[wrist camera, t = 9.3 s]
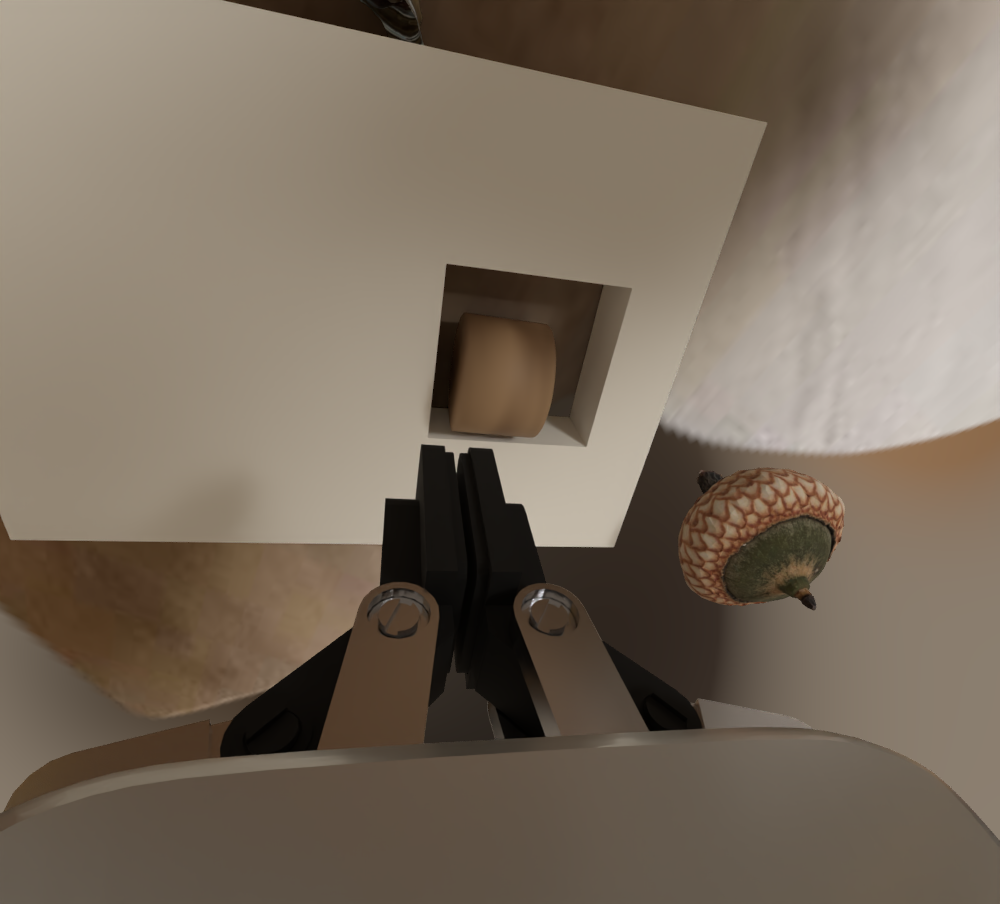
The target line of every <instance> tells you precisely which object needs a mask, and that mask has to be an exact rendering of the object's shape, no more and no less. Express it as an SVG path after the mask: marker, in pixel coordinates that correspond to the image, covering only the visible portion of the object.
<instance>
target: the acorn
mask: <svg viewBox="0 0 1000 904" xmlns="http://www.w3.org/2000/svg"><path fill="white" fill-rule="evenodd" d="M698 473H700V474H699V475H700V476H699V477H698V478H697V481H698V484H699V485H700V488H701V490H702V492H703V495H702V496H700V497H699V498H698V499H697V500H696V502H695V503H694V506H693V507H692V508H690V510H689V512H688V514H687V515H686V517H685V519H684V520H683V522H682V525H681V530H680V533H679V537H678V547H679V558H680V564H681V567H682V570H683V573H684V577H685V581H686V583H687V585H688V586H689V587H690V589H691V590H693V591H694V592H696V593H697V594H698V595H700V596H701V597H702V598H703V599H707V600H710V601H713V602H716V603H719V604H723V605H730V606H731V605H739V606H744V605H747V604H757V603H765V602H769V601H774V600H779V599H784V598H786V597H789V596H791V597H794V598H798V599H799V600H800V601H802V604H803V605H805V606H806V607H808V608H810V609H812V610H815V609H816V603H815V600H814V596H812V594H811V593H810V592H809V588H810V585H809V584H810V583H811V582H812V581H813V580H814V579H815V578H816V577H817V576H818V575H819V574H820V573H821V572H822V570H823V569H824V567H825V564H826V562H828V561H829V559H830V557H831V555H832V552H833V551H834V550H835V548H836V546H837V545H838V543H839V542H840V540H841V535H842V529H843V527H844V521H843V517H844V513H845V507H844V504H843V502H842V500H841V498H840V497H839V496H837V495H836V494H835V493H834V492H833V491H832V490H831V489H830V488H828V487H827V486H825V485H824V484H823V483H821V482H820V481H818V480H816V479H815V478H812V477H810V476H807V475H805V474H801V473H797V472H796V471H794V470H790V469H774V468H757V469H752V470H740V471H737V472H735V473H734V474H732V475H731V476H727V477H724V478H722V475H721V474H720V475H719V474H716V473H715V472H714V471H703V470H700V471H699V472H698Z"/></svg>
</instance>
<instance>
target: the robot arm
mask: <svg viewBox="0 0 1000 904" xmlns="http://www.w3.org/2000/svg"><path fill="white" fill-rule="evenodd" d="M453 651H454V654H455V665H456V671H457V673H465V678H466V689H475V691H476V692H478V693H479V694H480V695H481V696H483V697H484V698H485V699H486V700H487V701H488V704H487V708H488V715H489V719H490V722H491V726H492V729H493V733H494V736H495V740H483V741H464V742H446V743H430V744H423V741H424V734H425V726H426V718H427V710H428V707H429V706H430V705H431V704H432V703H433V702H434V701H435V700H436V699H437V698H438V697H439V696H440V695H441V694H442V693H443V692H444V686H445V681H446V676H447V673H449V672H450V667H451V662H452V657H453ZM0 904H1000V840H999V839H998V838H997V837H996V836H995V835H994V833H993V832H992V831H991V830H990V829H989V828H988V827H987V825H986V824H985V823H984V822H983V821H982V820H981V819H980V818H979V816H978V815H977V814H976V813H975V812H974V811H973V810H972V809H971V808H970V807H969V806H968V804H967V803H966V802H965V801H964V800H963V799H962V798H961V797H960V796H959V795H958V794H956V792H955V791H954V790H953V789H952V788H950V786H949V785H947V784H946V783H945V782H944V781H943V780H942V779H940V778H939V777H938V776H937V775H936V774H935V773H933V772H932V771H930V770H928V769H927V768H926V767H924V766H923V765H921V764H919V763H918V762H916V761H914V760H912V759H910V758H908V757H906V756H904V755H902V754H900V753H898V752H895V751H893V750H891V749H888V748H885V747H883V746H880V745H877V744H874V743H871V742H868V741H865V740H862V739H859V738H856V737H852V736H847V735H842V734H838V733H833V732H828V731H822V730H814V729H812V728H811V727H809V726H808V725H806V724H805V723H803V722H802V721H800V720H798V719H795V718H792V717H789V716H786V715H780V714H775V713H770V712H765V711H760V710H755V709H749V708H744V707H739V706H734V705H729V704H724V703H719V702H713V701H708V700H703V699H697V701H696V703H695V704H694V703H690V702H689V701H688V700H687V699H686V698H685V697H684V696H683V695H681V694H680V693H679V692H678V691H677V690H675V689H674V688H672V687H671V686H669V685H668V684H666V683H665V682H663V681H662V680H660V679H659V678H657V677H656V676H654V675H653V674H651V673H650V672H648V671H647V670H645V669H644V668H642V667H641V666H639V665H638V664H636V663H635V662H633V661H632V660H630V659H629V658H627V657H626V656H625V655H623V654H622V653H620V652H619V651H617V650H615V649H614V648H613V647H611V646H609V645H608V644H607V643H605V642H604V641H602V640H601V639H600V637H599V635H598V633H597V631H596V629H595V627H594V625H593V623H592V621H591V619H590V617H589V616H588V614H587V612H586V610H585V608H584V607H583V605H582V604H581V602H580V601H579V600H578V598H577V597H575V596H574V595H573V594H572V593H571V592H569V591H567V590H566V589H564V588H562V587H560V586H556V585H552V584H547V583H546V581H545V577H544V574H543V570H542V567H541V564H540V560H539V556H538V553H537V549H536V546H535V542H534V539H533V535H532V532H531V528H530V525H529V521H528V518H527V514H526V511H525V508H524V506H523V505H522V504H515V503H506V502H505V498H504V494H503V490H502V486H501V481H500V477H499V473H498V469H497V465H496V461H495V457H494V452H493V449H488V448H472V447H469V449H468V452H467V453H460V454H459V459H458V465H457V472H456V468H455V460H454V453H453V452H446V451H445V446H441V445H425V444H421V449H420V458H419V468H418V477H417V487H416V497H415V499H394V498H385V511H384V527H383V543H382V559H381V576H380V586H379V587H377V588H375V589H373V590H371V591H370V592H369V593H368V594H367V595H366V596H365V597H364V598H363V600H362V602H361V604H360V606H359V609H358V612H357V615H356V619H355V622H354V626H353V627H352V628H351V629H350V630H348V631H347V632H346V633H344V634H343V635H342V636H340V637H339V638H338V639H336V640H335V641H334V642H332V643H331V644H330V645H328V646H327V647H326V648H324V649H323V650H321V651H320V652H319V653H317V654H316V655H315V656H313V657H312V658H311V659H309V660H308V661H307V662H305V663H304V664H303V665H301V666H300V667H299V668H297V669H296V670H295V671H293V672H292V673H291V674H289V675H288V676H287V677H285V678H284V679H282V680H281V681H280V682H278V683H277V684H276V685H274V686H273V687H272V688H270V689H269V690H268V691H266V692H265V693H264V694H262V695H261V696H260V697H258V698H257V699H256V700H255V701H253V702H252V703H250V704H249V705H248V706H246V707H245V708H244V709H243V710H242V711H241V712H240V713H239V714H238V715H237V716H235V717H234V718H233V720H230V721H226V722H222V723H218V724H214V725H211V723H210V720H205V721H200V722H196V723H192V724H188V725H184V726H180V727H176V728H172V729H168V730H164V731H160V732H156V733H152V734H148V735H144V736H139V737H135V738H132V739H127V740H123V741H119V742H115V743H111V744H107V745H103V746H99V747H95V748H90V749H86V750H83V751H78V752H74V753H71V754H68V755H65V756H63V757H60V758H58V759H55V760H52V761H50V762H49V763H47V764H46V765H44V766H43V767H41V768H40V769H39V770H37V771H35V772H34V773H32V774H31V775H30V776H29V777H28V778H27V779H26V780H25V781H24V782H23V783H22V784H21V785H20V786H19V787H18V788H17V789H16V790H15V792H14V793H13V794H12V796H11V798H10V800H9V802H8V804H7V806H6V808H5V810H4V811H3V812H2V813H0Z"/></svg>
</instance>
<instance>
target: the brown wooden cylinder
mask: <svg viewBox="0 0 1000 904" xmlns="http://www.w3.org/2000/svg"><path fill="white" fill-rule="evenodd" d="M555 374H556V348H555V341H554V336H553V333H552V330H551V328H550V327H549V326H548V325H547V324H541V323H534V322H527V321H520V320H513V319H506V318H499V317H492V316H485V315H478V314H471V313H463V315H462V316H461V318H460V321H459V324H458V328H457V332H456V336H455V341H454V347H453V353H452V361H451V369H450V380H449V402H448V405H449V422H450V427H451V430H452V431H458V432H469V433H481V434H492V435H504V436H515V437H527V438H533V437H535V436H537V435H538V434H539V432H540V431H541V429H542V428H543V425H544V423H545V421H546V418H547V416H548V412H549V409H550V405H551V401H552V396H553V391H554V384H555Z"/></svg>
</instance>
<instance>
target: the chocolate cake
mask: <svg viewBox="0 0 1000 904" xmlns="http://www.w3.org/2000/svg"><path fill="white" fill-rule="evenodd" d="M360 1H361V2H363V3H365V4H366V5H367V6H368V7H369V8H371V9H372V10H373V12H374V13H375V14H376V15H377V16H378V17H379V18H380V19H381V21H382V23H383V25H384V27H385V29H386V31H387V34H388V36H389V38H393V39H397V40H402V41H406V42H411V43H415V44H419V45H424V43H423V41H422V35H421V31H420V25H421V21H422V18H423V16H422V13H421V10H420V4H419V0H360Z"/></svg>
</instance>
